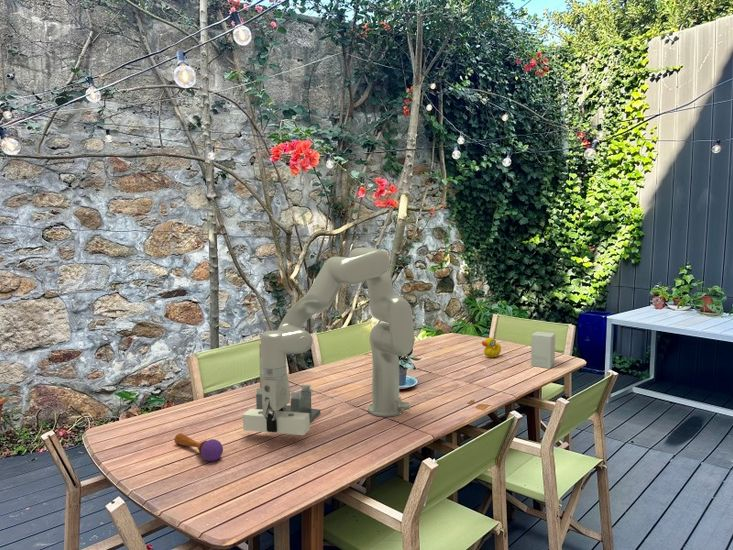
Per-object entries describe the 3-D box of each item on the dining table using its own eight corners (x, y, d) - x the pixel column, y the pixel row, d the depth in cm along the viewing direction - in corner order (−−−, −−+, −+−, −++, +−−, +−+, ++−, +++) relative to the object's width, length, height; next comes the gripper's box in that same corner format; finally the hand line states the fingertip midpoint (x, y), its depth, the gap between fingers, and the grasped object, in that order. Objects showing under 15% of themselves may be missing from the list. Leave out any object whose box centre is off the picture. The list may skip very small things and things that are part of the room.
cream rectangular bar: (309, 428, 162) (309, 412, 162) (304, 435, 157) (303, 418, 157) (250, 423, 167) (249, 408, 166) (243, 430, 162) (242, 414, 161)
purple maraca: (188, 427, 162) (227, 440, 149) (187, 447, 162) (226, 461, 149) (171, 430, 157) (210, 443, 145) (169, 450, 157) (208, 465, 144)
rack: (320, 413, 183) (320, 384, 182) (306, 426, 172) (305, 396, 171) (264, 406, 190) (264, 378, 189) (247, 418, 179) (246, 389, 178)
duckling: (485, 360, 251) (486, 340, 250) (478, 357, 256) (478, 337, 255) (503, 357, 257) (504, 337, 255) (495, 354, 261) (496, 335, 260)
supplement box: (554, 364, 245) (556, 332, 243) (550, 368, 237) (551, 336, 235) (535, 361, 250) (536, 330, 248) (530, 365, 242) (531, 334, 240)
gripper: (271, 381, 151) (274, 440, 153) (297, 364, 167) (299, 418, 169) (249, 378, 153) (251, 437, 155) (276, 362, 169) (278, 416, 171)
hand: (276, 427), depth 162 cm, fingers closed on cream rectangular bar, 5 cm apart
